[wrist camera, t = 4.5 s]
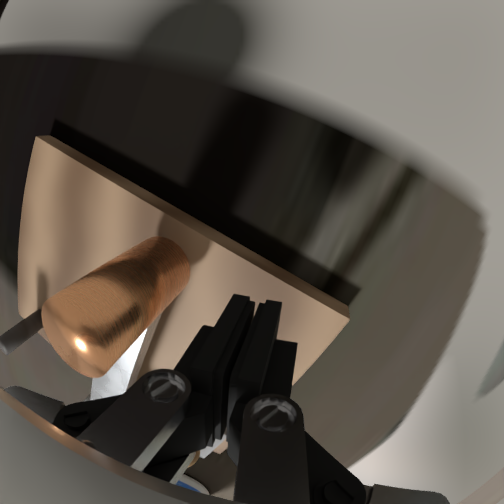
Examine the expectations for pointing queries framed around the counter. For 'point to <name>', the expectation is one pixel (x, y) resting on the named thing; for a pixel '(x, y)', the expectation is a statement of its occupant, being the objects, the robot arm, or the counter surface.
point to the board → (134, 232)
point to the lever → (115, 313)
